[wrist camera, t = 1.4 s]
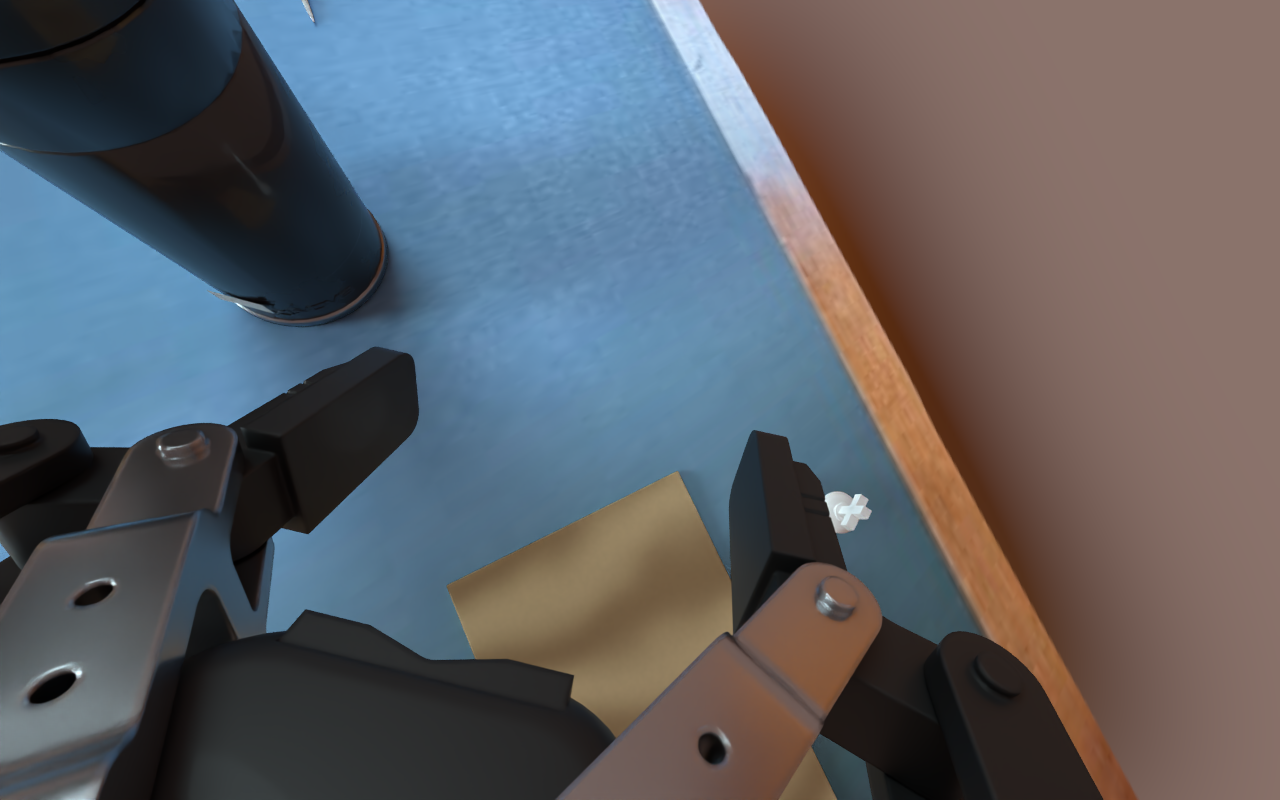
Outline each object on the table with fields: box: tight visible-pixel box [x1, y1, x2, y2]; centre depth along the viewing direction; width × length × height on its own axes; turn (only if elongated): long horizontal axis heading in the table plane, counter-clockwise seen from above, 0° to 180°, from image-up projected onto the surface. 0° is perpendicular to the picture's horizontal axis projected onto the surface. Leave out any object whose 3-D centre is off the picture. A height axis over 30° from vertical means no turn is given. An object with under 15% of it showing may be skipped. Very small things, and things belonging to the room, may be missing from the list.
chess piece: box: [825, 492, 872, 533], centre depth 26 cm, size 5×5×10 cm
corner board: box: [447, 471, 837, 800], centre depth 26 cm, size 24×15×1 cm, turn 26°
